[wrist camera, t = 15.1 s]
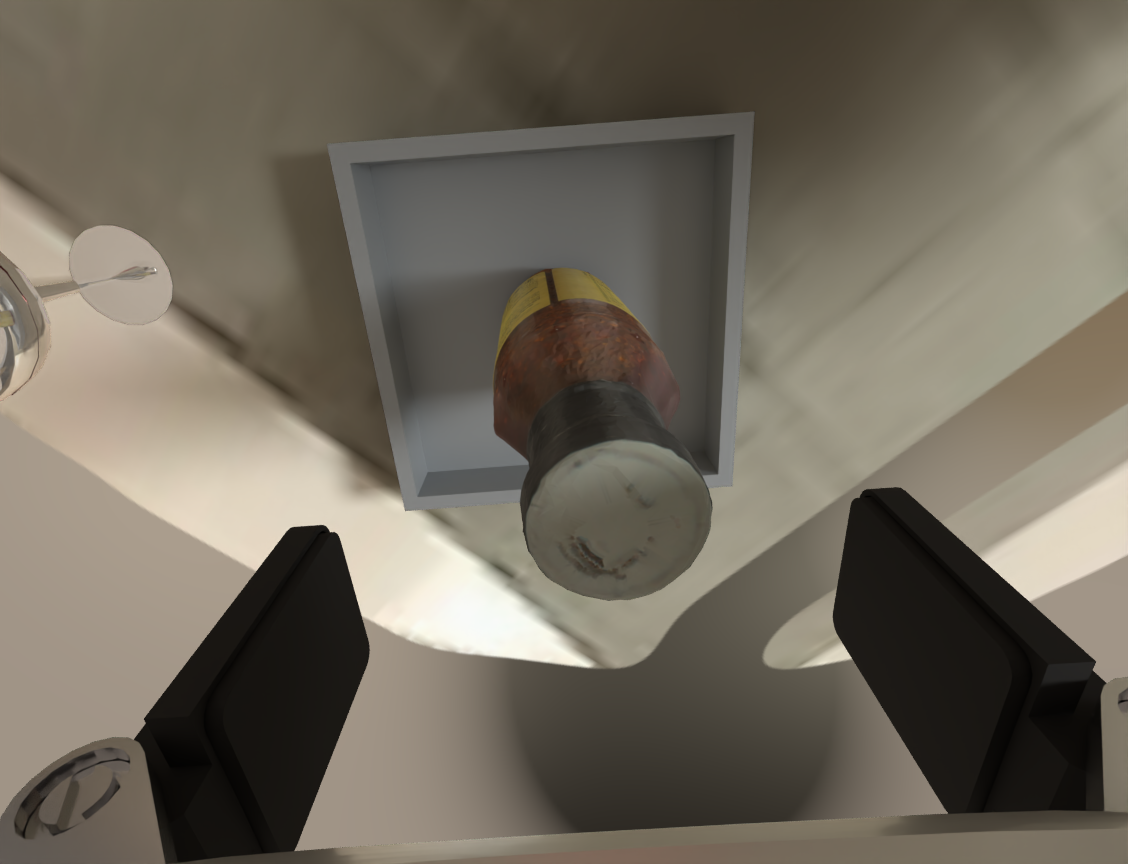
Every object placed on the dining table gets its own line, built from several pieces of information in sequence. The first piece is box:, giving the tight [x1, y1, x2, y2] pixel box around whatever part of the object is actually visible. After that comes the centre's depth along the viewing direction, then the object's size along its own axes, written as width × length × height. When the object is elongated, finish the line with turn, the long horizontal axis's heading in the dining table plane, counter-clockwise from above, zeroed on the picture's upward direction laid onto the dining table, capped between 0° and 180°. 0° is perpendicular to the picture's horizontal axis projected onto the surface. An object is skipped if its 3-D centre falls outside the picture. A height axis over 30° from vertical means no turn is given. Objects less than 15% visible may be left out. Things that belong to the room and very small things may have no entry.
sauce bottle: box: [493, 268, 712, 601], centre depth 21 cm, size 6×6×20 cm
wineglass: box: [0, 225, 173, 401], centre depth 23 cm, size 7×7×12 cm
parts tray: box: [327, 111, 755, 511], centre depth 29 cm, size 18×18×4 cm
